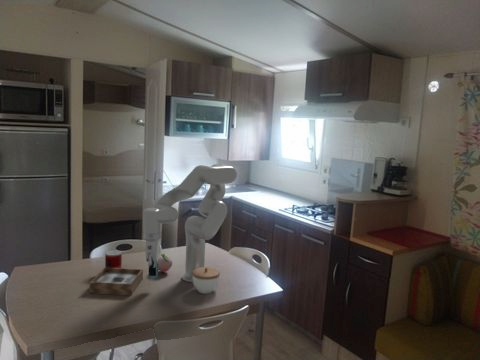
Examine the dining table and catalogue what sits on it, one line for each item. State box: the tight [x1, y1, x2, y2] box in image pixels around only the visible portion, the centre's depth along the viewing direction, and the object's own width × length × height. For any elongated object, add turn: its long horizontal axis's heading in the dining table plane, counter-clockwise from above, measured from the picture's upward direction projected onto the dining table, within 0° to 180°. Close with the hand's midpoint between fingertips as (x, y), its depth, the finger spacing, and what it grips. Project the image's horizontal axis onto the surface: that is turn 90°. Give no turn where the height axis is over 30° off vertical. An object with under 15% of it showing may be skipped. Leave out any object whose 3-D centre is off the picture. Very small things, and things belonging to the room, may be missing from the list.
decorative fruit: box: [158, 253, 173, 273], centre depth 200 cm, size 9×8×10 cm
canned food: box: [104, 249, 123, 268], centre depth 195 cm, size 8×8×11 cm
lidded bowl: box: [192, 266, 220, 295], centre depth 180 cm, size 13×13×11 cm
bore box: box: [89, 266, 144, 296], centre depth 181 cm, size 19×19×5 cm
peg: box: [149, 260, 159, 280], centre depth 178 cm, size 4×4×10 cm
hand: (153, 273), depth 178 cm, fingers closed on peg, 3 cm apart
